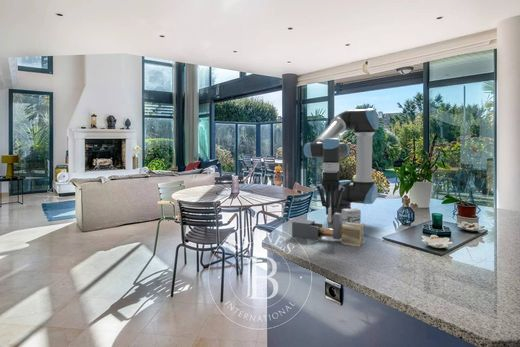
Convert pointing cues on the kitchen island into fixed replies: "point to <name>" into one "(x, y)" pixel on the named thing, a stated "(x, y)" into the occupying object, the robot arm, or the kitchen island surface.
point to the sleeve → (305, 229)
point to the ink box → (351, 216)
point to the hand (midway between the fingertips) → (330, 221)
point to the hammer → (336, 230)
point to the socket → (352, 234)
